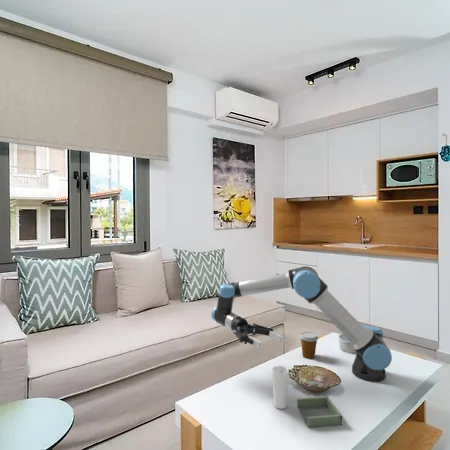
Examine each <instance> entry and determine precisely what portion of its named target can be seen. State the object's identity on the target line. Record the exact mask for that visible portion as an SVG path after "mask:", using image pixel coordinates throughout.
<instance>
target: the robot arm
mask: <svg viewBox="0 0 450 450" xmlns="http://www.w3.org/2000/svg"><path fill="white" fill-rule="evenodd" d="M288 288H290V289H292V290H294V292H296V294H297V295H298V296H300V297H302V298H303V299H304V300H305V301H307V302H308V303H309V304H311V305H313V304H314V305H315V306H316V307H317V308H318V309H319V310H320V311H321V312H322V313H323V314H324V315H325V316H326V318H327V319H329V320H330V322H331V323H332V324H333V325H334V326H335V327H336V328H337V329H338V330H339V331H340V332H341V334H344V335H345V336H346V337H347V338H348V339H349V340H350V341H351V342H352V347H353V349H354V350H355V351H356V353H355V356H354V357H355V358H354V360H353V362H352V365H351V366H352V367H351V373H352V374H353V375H354V376H355V377H356V378H359V379H361V380H363V381H368V382H382V381H384V380H385V379H386V378H387V371H386V369H387V368H388V367H389V366H390V365H391V362H392V359H393V356H392V355H393V354H392V352H391V350H390V348H389V347H388V345H387V344H386V342H385V341H384V337H383V336H384V333H383V332H384V331H383V329H382V328H380V327H378V326H372V325H362V324H361V323H360V322H359V321H358V319H356V318H355V317H354V316H353V315H352V313H350V312H349V310H348V309H346V308H345V306H343V305H342V303H340V301H339V300H338V299H337V298H335V296H333V295H332V293H331V292H330V291H329V286H328V285H327V284H326V283H325V281H323V279H321V277H320V276H319V274H318V272H317V271H316V269H314V268H313V267H311V266H306V265H305V266H301V267H296V268H293V269H288V270H287V271H286V272H283V273H278V274H272V275H269V276H263V277H259V278H253V279H247V280H242V281H239V282H238V281H237V282H234V281H231V282H229V283H228V284H227V283H224V284H221V285H220V286H219V290H218V298H217V306H215V307H213V309H212V311H211V314H210V315H211V319H212V320H213V321H215V322H216V323H217V324H219V325H221V326H223V327H225V328H226V329H228V330H230V331H232V332H233V334H234V335H235V336H236V337H237V339H238V340H239V342H240V343H243V344H244V345H247V343H248V344H249V345H251V346H253V347H254V348H257V349H258V350H261V345H262V341H259V340H258V339H256V338H254V337H252V336H251V334H252V335H256V334H257V335H263V336H267V337H268V338H270V339H272V340H274V341H276V342H277V343H282V339H283V336H282V335H280V334H277V333H276V332H275V331H274V328H270V327H267V326H263V325H259V324H256V323H253V324H250V323H248V321H247V319H246V318H244V317H241V316H240V315H238V314H236V313H234V312H233V304H234V300H235V299H236V298H241V297H244V296H245V297H246V296H250V295H256V294H262V293H267V292H273V291H278V290H279V291H280V290H283V289H288Z"/></svg>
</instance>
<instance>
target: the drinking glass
mask: <svg viewBox="0 0 450 450" xmlns="http://www.w3.org/2000/svg"><path fill="white" fill-rule="evenodd" d="M271 370H272V373H271V382H272V394H273V395H272V397H273V405H274V407H275V408H276V409H279V410H280V409H281V410H283V409H286V407H287V406H288V396H289V395H288V392H289V384H290V371H289V368H288V367H286V366H283V365H277V366H274V367H272V369H271Z"/></svg>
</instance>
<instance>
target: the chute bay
mask: <svg viewBox="0 0 450 450" xmlns="http://www.w3.org/2000/svg"><path fill="white" fill-rule="evenodd" d="M296 407H297V409H298V411H299V413H300V415H301V417H302V418H303V420H304V422H305V424H306V426H307V428H308V429H309V428H310V429H311V428H323V427H324V428H325V427H334V426H335V427H336V426H343V415H342V413H341V412H340V410H339V409H338V408H337V407H336V405H335V404H334V403H333V402H332V400H331V399H330V397H329V396H314V397H298V398H296Z"/></svg>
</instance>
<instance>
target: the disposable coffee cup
mask: <svg viewBox="0 0 450 450" xmlns="http://www.w3.org/2000/svg"><path fill="white" fill-rule="evenodd" d="M299 338H300V344H301V351H302V358H304V359H309V360H310V359H314V358H315V357H316V356H315V355H316V349H317V343H318V339H319V337H318V334H317V333H315V332H311V331H303V332H301V333H300V335H299Z"/></svg>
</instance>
